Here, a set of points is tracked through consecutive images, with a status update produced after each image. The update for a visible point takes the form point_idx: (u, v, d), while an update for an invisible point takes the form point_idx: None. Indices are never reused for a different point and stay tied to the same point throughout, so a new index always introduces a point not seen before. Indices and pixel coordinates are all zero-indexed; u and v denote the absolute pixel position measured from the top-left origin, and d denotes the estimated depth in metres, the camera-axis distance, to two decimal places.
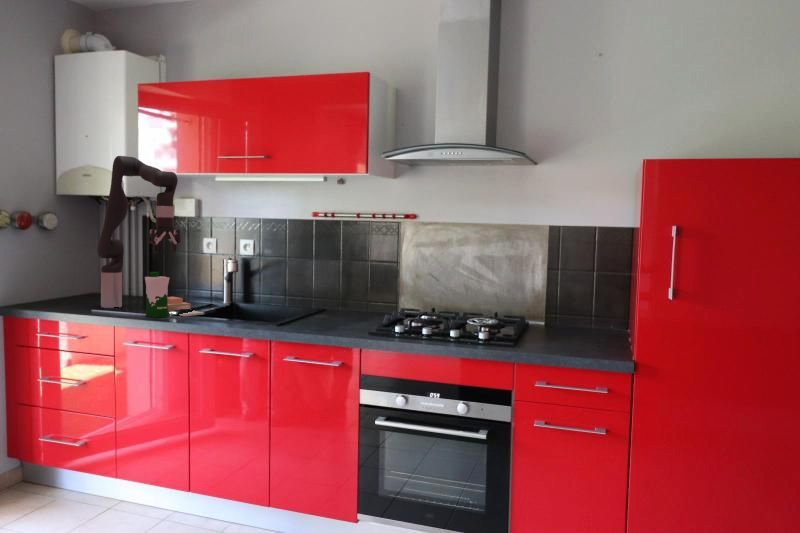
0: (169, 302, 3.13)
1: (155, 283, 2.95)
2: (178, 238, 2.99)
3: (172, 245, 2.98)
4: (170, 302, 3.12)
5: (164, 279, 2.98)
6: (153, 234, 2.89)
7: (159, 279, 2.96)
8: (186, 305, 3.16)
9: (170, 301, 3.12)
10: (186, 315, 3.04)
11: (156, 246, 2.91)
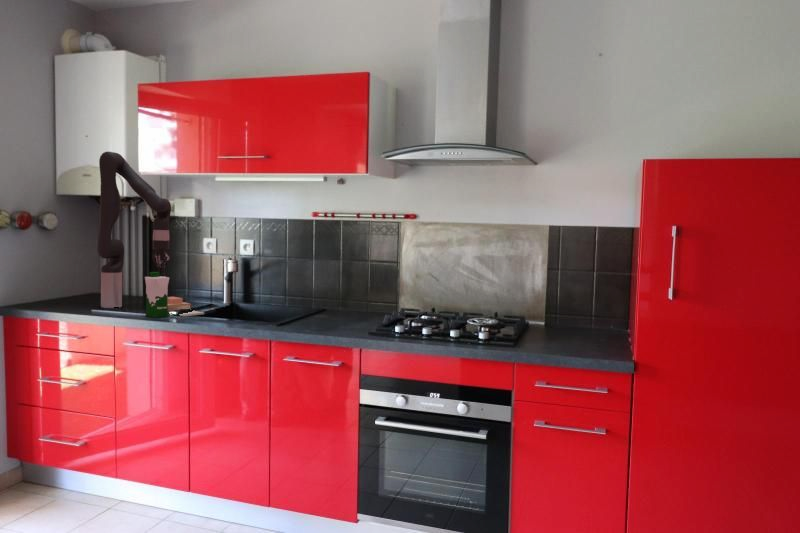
0: (169, 302, 3.13)
1: (155, 283, 2.95)
2: None
3: None
4: (170, 302, 3.12)
5: (164, 279, 2.98)
6: None
7: (159, 279, 2.96)
8: (186, 305, 3.16)
9: (170, 301, 3.12)
10: (186, 315, 3.04)
11: (163, 269, 3.22)
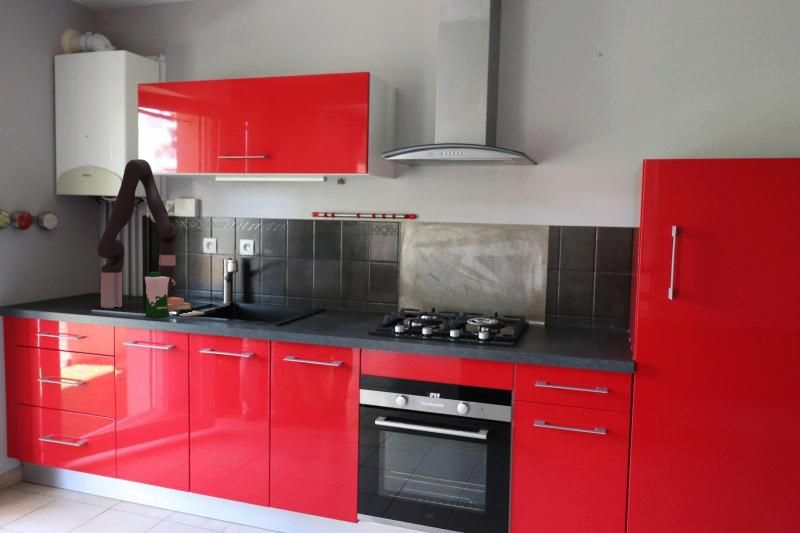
0: (170, 302, 3.12)
1: (155, 283, 2.95)
2: None
3: None
4: (171, 302, 3.12)
5: (164, 279, 2.98)
6: None
7: (159, 279, 2.96)
8: (186, 305, 3.16)
9: (171, 301, 3.12)
10: (186, 315, 3.04)
11: (169, 293, 3.20)
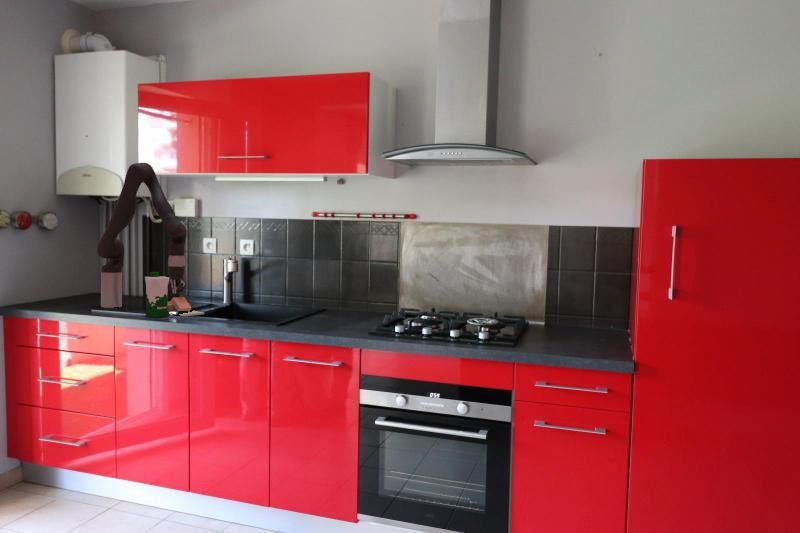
0: (177, 309, 3.08)
1: (155, 283, 2.95)
2: None
3: None
4: (178, 310, 3.08)
5: (164, 279, 2.98)
6: None
7: (159, 279, 2.96)
8: None
9: (178, 309, 3.08)
10: (186, 315, 3.04)
11: (178, 295, 3.15)
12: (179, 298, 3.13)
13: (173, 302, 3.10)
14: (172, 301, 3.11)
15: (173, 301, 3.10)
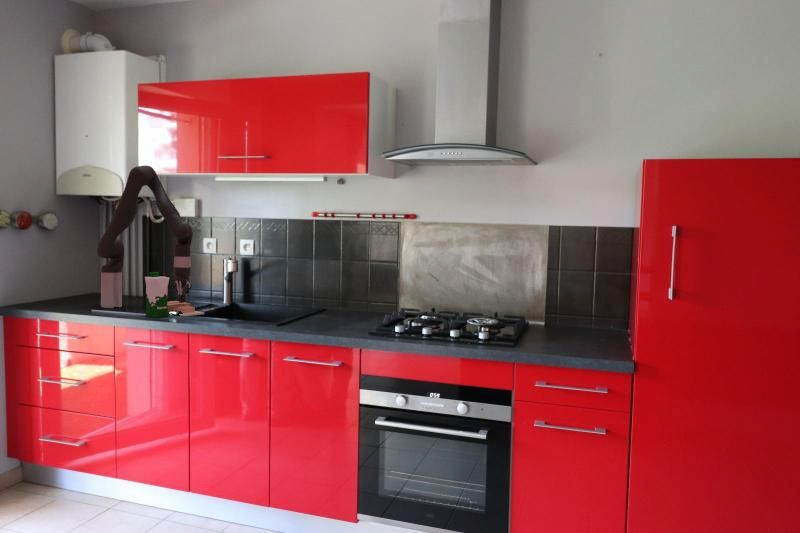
0: (181, 311, 3.07)
1: (155, 283, 2.95)
2: None
3: None
4: (182, 311, 3.06)
5: (164, 279, 2.98)
6: None
7: (159, 279, 2.96)
8: (186, 305, 3.16)
9: (182, 310, 3.06)
10: (186, 315, 3.04)
11: (184, 296, 3.12)
12: (180, 306, 3.12)
13: (175, 309, 3.09)
14: (174, 309, 3.10)
15: (175, 308, 3.09)
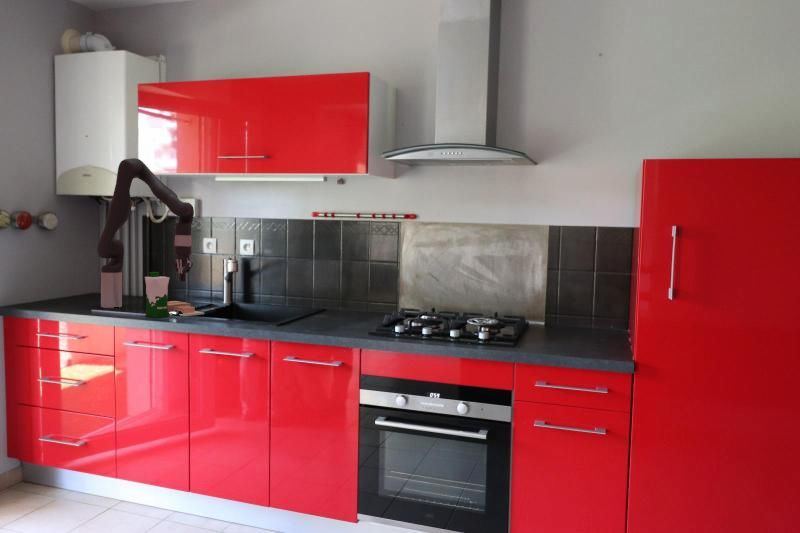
0: (181, 311, 3.07)
1: (155, 283, 2.95)
2: None
3: None
4: (182, 311, 3.06)
5: (164, 279, 2.98)
6: None
7: (159, 279, 2.96)
8: (186, 305, 3.16)
9: (182, 310, 3.06)
10: (186, 315, 3.04)
11: None
12: (180, 306, 3.12)
13: (175, 309, 3.09)
14: (174, 309, 3.10)
15: (175, 308, 3.09)
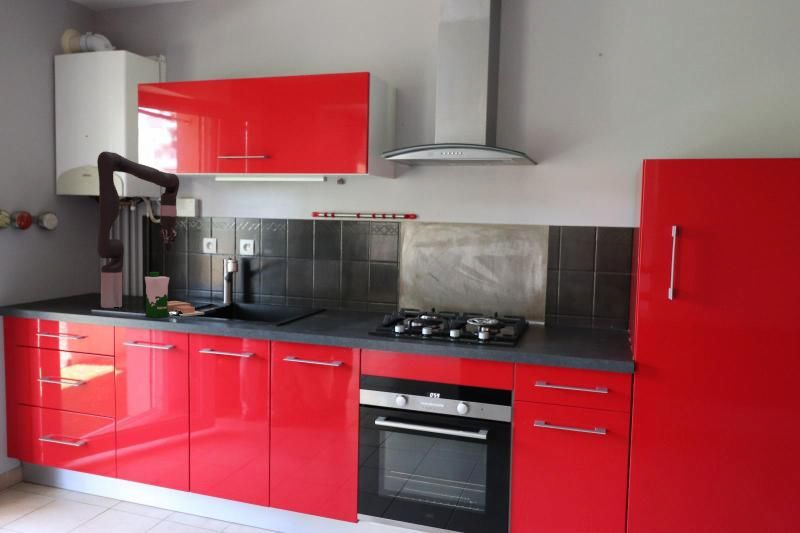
0: (181, 311, 3.07)
1: (155, 283, 2.95)
2: None
3: None
4: (182, 311, 3.06)
5: (164, 279, 2.98)
6: None
7: (159, 279, 2.96)
8: (186, 305, 3.16)
9: (182, 310, 3.06)
10: (186, 315, 3.04)
11: None
12: (180, 306, 3.12)
13: (175, 309, 3.09)
14: (174, 309, 3.10)
15: (175, 308, 3.09)
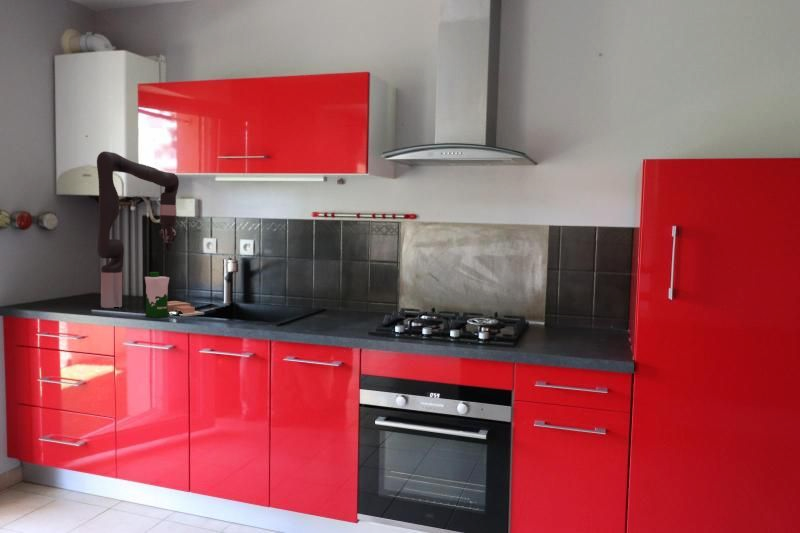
0: (181, 311, 3.07)
1: (155, 283, 2.95)
2: None
3: None
4: (182, 311, 3.06)
5: (164, 279, 2.98)
6: None
7: (159, 279, 2.96)
8: (186, 305, 3.16)
9: (182, 310, 3.06)
10: (186, 315, 3.04)
11: None
12: (180, 306, 3.12)
13: (175, 309, 3.09)
14: (174, 309, 3.10)
15: (175, 308, 3.09)
